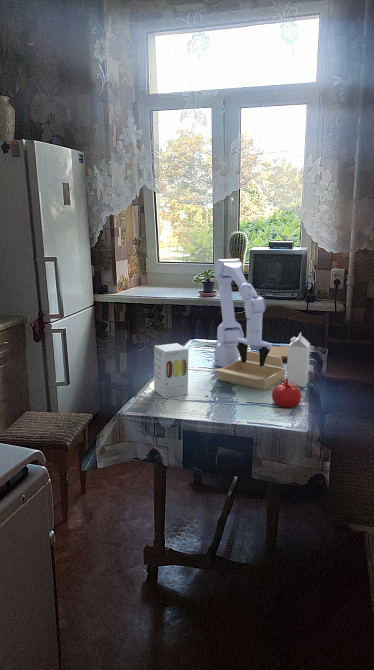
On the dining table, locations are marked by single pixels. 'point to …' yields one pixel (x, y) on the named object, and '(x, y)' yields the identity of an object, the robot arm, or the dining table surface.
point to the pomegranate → (286, 395)
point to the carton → (267, 372)
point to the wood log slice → (279, 352)
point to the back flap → (268, 361)
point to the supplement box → (171, 370)
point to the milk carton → (298, 361)
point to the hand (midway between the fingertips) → (252, 364)
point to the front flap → (238, 374)
